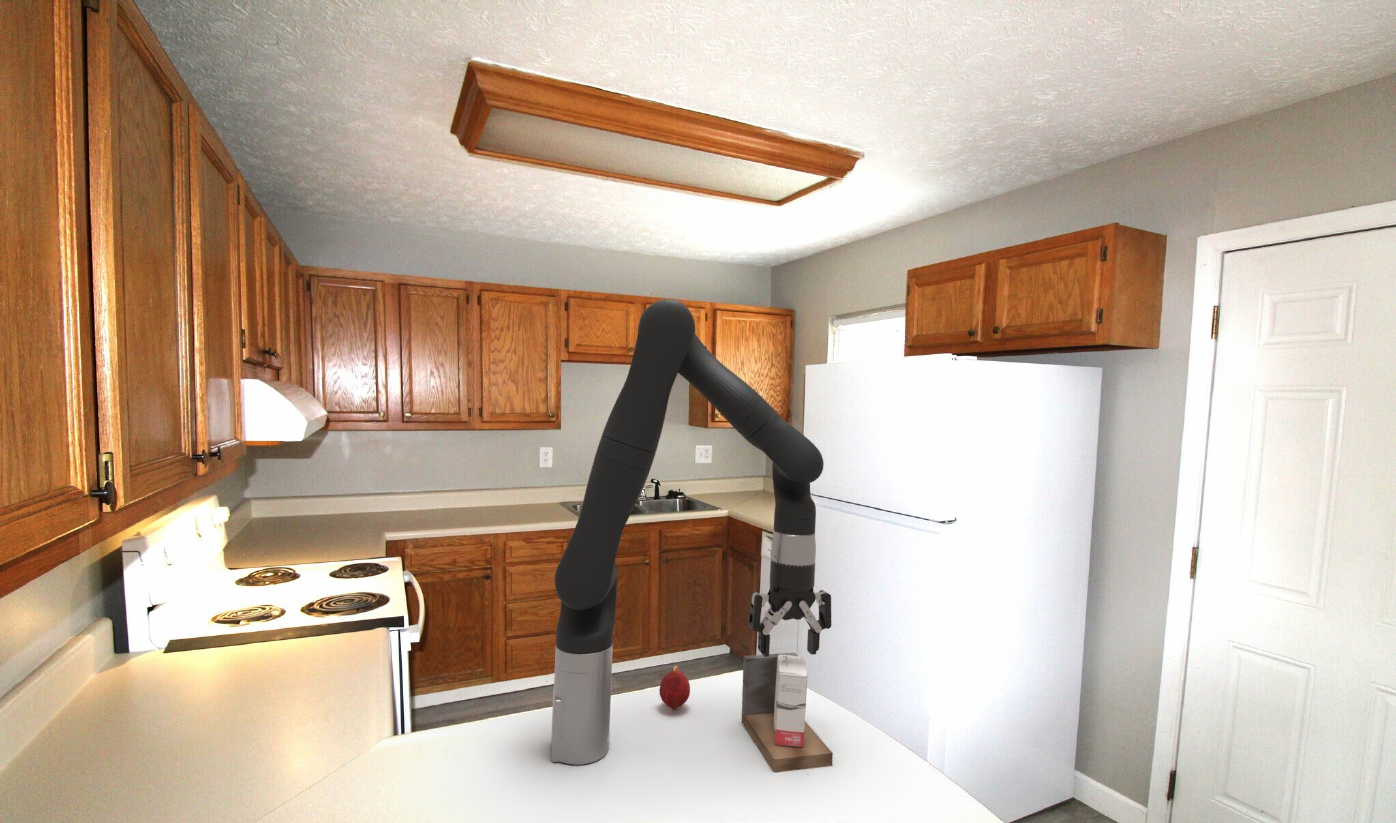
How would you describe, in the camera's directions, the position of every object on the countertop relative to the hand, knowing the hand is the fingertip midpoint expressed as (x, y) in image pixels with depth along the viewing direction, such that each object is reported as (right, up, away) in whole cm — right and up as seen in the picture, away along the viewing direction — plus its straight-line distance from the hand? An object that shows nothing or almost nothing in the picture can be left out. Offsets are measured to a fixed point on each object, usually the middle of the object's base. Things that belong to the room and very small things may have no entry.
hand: (788, 654), depth 104 cm
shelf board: (-1, -15, +1) cm, 15 cm away
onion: (-20, -15, +11) cm, 27 cm away
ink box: (0, -14, 0) cm, 14 cm away
